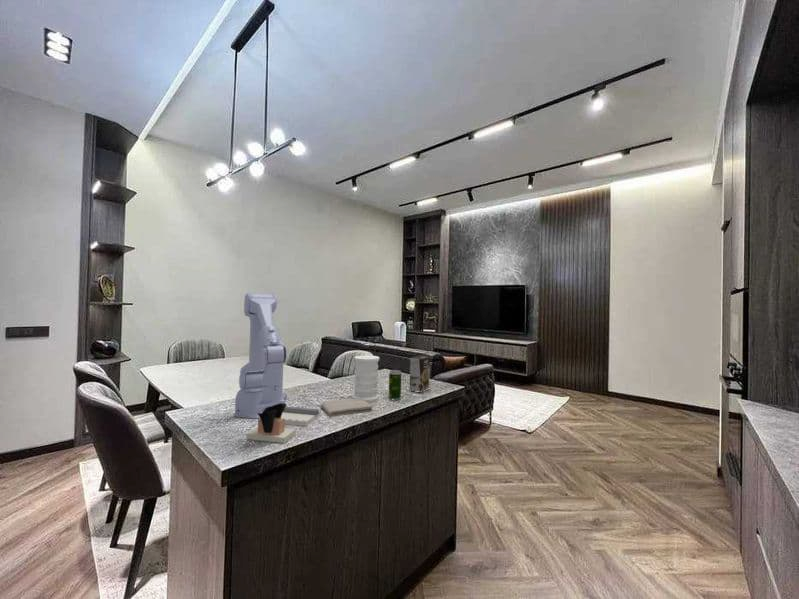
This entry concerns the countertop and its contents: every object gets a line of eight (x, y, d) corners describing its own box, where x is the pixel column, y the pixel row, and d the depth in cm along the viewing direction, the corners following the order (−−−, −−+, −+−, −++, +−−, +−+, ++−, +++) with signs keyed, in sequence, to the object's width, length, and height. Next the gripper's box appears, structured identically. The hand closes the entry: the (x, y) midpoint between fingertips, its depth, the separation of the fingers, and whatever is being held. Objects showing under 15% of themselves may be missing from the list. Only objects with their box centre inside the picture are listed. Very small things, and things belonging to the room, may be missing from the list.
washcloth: (374, 412, 131) (374, 404, 131) (329, 418, 123) (329, 409, 123) (362, 403, 142) (362, 396, 142) (320, 409, 133) (320, 401, 133)
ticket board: (271, 422, 115) (271, 414, 115) (289, 412, 127) (289, 403, 127) (307, 426, 113) (307, 417, 113) (321, 415, 125) (322, 406, 125)
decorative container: (346, 398, 147) (347, 356, 147) (366, 393, 156) (367, 354, 156) (365, 404, 139) (366, 360, 140) (384, 398, 148) (385, 357, 148)
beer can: (397, 396, 153) (398, 369, 153) (402, 399, 148) (403, 371, 148) (386, 397, 151) (387, 370, 151) (391, 400, 146) (391, 372, 146)
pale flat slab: (246, 439, 101) (247, 420, 101) (260, 430, 108) (261, 413, 108) (284, 443, 99) (284, 424, 99) (295, 434, 106) (296, 416, 106)
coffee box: (420, 393, 159) (421, 358, 159) (408, 391, 162) (409, 357, 163) (429, 389, 167) (430, 356, 167) (418, 387, 170) (419, 355, 170)
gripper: (271, 391, 95) (270, 440, 95) (296, 380, 109) (294, 423, 109) (248, 390, 96) (247, 438, 96) (276, 379, 111) (274, 421, 111)
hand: (271, 430), depth 103 cm, fingers closed on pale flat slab, 3 cm apart
